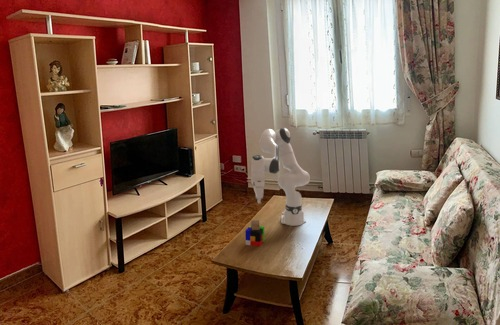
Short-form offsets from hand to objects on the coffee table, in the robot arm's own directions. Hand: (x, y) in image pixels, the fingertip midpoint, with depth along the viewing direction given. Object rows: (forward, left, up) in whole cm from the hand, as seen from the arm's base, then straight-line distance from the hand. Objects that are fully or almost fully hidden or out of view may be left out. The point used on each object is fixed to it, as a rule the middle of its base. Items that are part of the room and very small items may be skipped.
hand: (258, 200), depth 272 cm
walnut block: (0, -2, -20) cm, 20 cm away
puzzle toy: (0, -2, -30) cm, 30 cm away
